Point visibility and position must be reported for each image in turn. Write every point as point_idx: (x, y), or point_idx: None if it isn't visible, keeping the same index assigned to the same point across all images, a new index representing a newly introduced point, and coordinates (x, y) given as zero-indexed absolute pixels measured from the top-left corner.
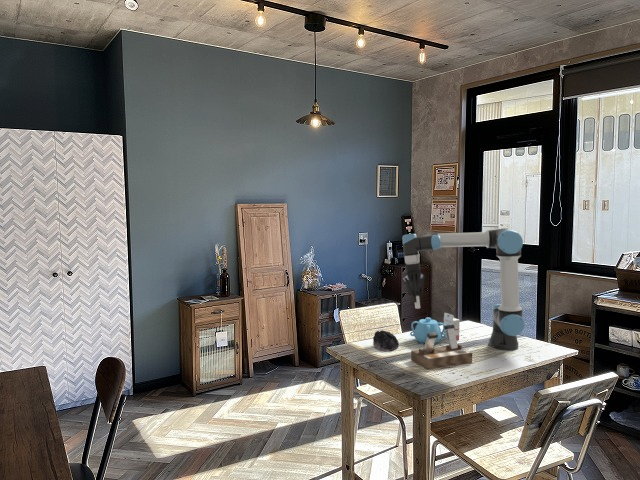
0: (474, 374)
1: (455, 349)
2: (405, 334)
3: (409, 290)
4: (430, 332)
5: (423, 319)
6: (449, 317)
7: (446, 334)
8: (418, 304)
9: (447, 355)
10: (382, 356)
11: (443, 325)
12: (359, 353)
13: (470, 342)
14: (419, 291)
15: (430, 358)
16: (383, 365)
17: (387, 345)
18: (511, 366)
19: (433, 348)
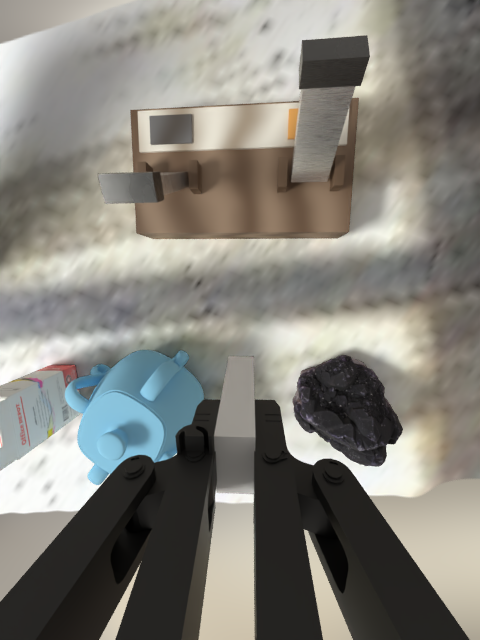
0: (215, 16)
1: None
2: None
3: (408, 566)
4: (346, 58)
5: None
6: (2, 428)
7: None
8: (243, 373)
9: (251, 106)
10: (408, 317)
11: (74, 384)
12: (468, 379)
13: (29, 327)
14: (178, 495)
15: None
16: (467, 227)
17: (359, 371)
18: (44, 49)
19: (244, 222)
